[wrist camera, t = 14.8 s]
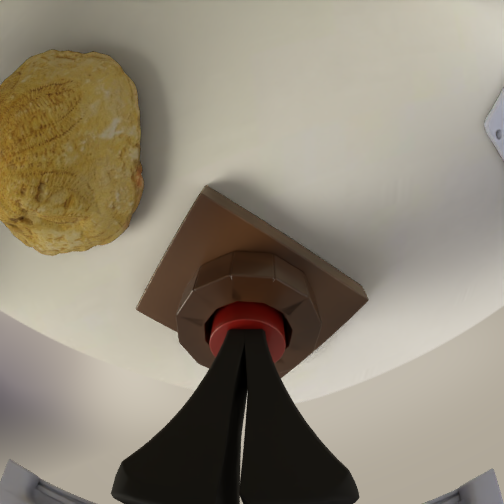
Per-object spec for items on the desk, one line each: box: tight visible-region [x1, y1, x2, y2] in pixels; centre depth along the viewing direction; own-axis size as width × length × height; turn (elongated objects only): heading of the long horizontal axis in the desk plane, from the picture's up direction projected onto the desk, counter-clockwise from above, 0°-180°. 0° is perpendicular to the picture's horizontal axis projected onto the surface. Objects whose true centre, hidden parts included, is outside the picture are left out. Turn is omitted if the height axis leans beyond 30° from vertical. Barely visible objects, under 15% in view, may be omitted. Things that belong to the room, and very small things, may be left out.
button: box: [209, 301, 286, 363], centre depth 12 cm, size 3×3×2 cm
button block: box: [136, 185, 369, 378], centre depth 13 cm, size 9×7×3 cm
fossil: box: [0, 49, 144, 256], centre depth 9 cm, size 11×6×10 cm
